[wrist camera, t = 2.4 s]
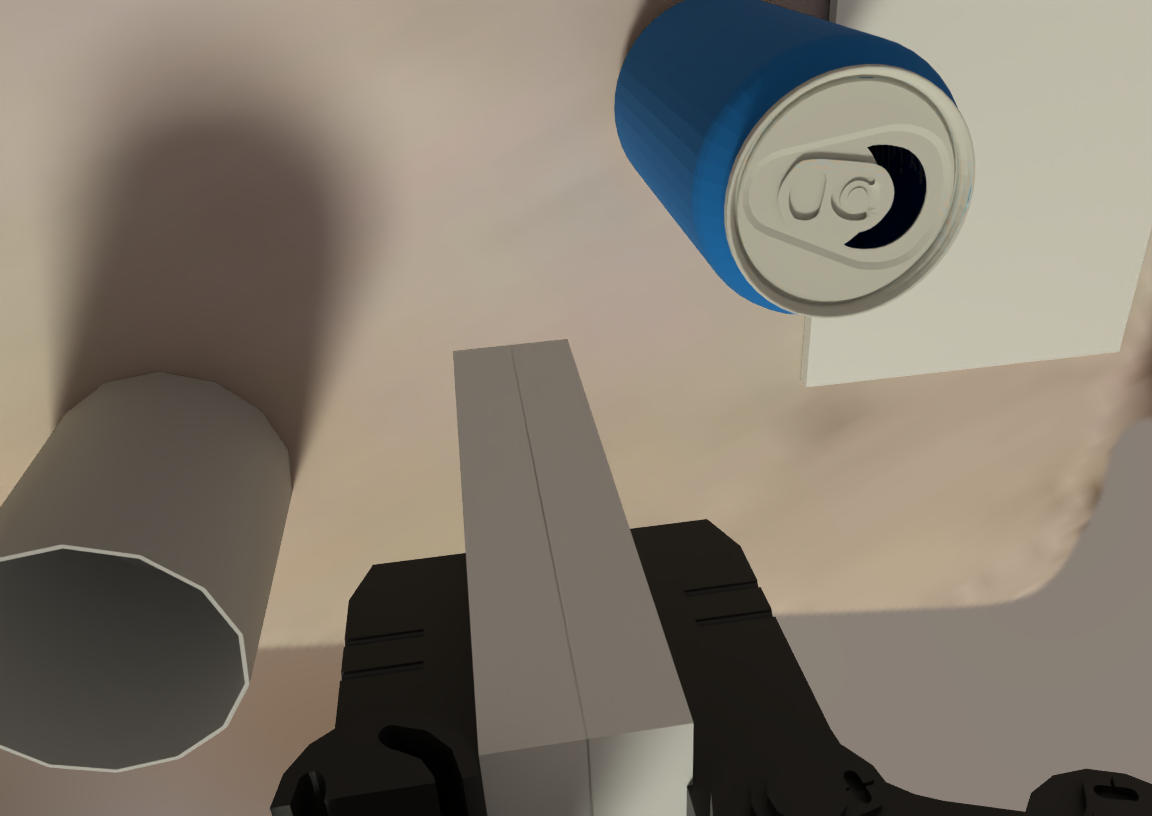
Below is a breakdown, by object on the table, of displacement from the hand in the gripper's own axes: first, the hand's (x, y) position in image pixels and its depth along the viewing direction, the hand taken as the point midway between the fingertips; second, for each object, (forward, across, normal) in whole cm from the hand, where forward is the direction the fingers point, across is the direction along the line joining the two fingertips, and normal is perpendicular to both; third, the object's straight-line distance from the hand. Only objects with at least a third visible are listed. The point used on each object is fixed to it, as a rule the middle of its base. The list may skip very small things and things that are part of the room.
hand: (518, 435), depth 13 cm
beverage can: (+20, +8, 0) cm, 22 cm away
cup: (+20, -12, -12) cm, 26 cm away
